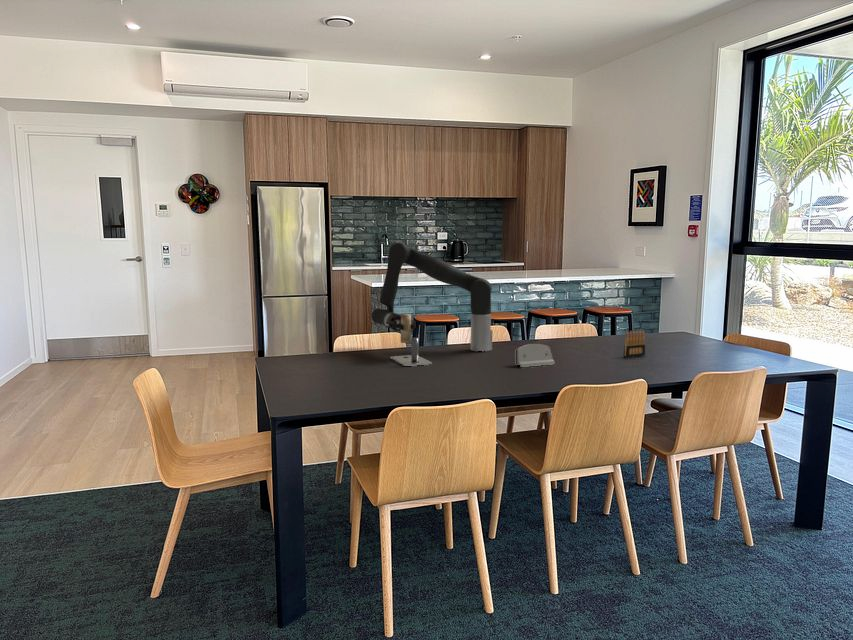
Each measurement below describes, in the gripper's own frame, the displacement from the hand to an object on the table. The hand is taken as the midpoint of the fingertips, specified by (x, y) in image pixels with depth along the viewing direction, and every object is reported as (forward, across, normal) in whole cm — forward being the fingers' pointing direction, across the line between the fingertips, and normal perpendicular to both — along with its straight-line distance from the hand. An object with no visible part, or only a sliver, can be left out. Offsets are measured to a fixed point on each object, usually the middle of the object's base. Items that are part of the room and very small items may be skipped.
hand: (408, 327), depth 266 cm
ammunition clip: (+29, +97, +14) cm, 103 cm away
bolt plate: (+2, 0, +15) cm, 15 cm away
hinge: (+28, +46, +14) cm, 55 cm away
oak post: (-3, 0, +7) cm, 8 cm away
